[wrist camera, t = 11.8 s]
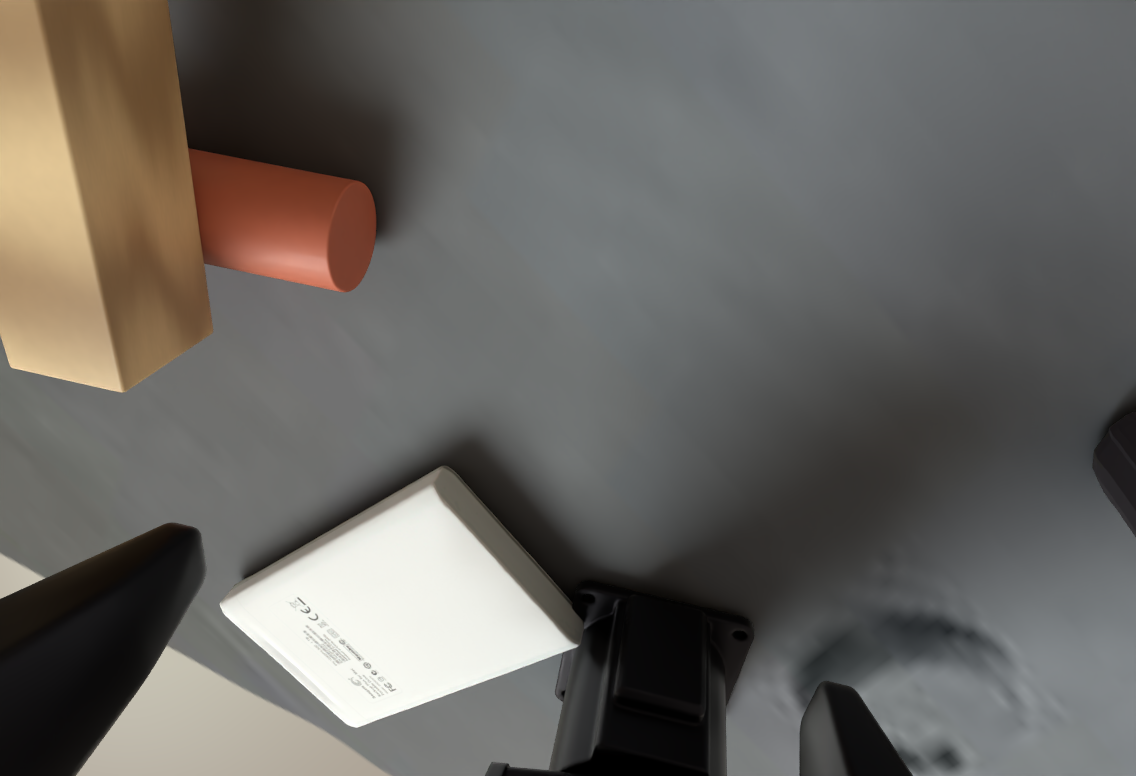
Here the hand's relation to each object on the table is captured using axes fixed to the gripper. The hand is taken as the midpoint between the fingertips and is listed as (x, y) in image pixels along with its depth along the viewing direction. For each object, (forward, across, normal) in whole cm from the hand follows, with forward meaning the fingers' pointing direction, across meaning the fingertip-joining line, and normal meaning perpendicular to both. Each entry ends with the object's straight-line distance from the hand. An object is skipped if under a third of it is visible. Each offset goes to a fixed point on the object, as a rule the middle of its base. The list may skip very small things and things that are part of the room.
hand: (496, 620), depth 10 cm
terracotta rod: (+12, +12, -1) cm, 17 cm away
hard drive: (+12, +6, +14) cm, 19 cm away
